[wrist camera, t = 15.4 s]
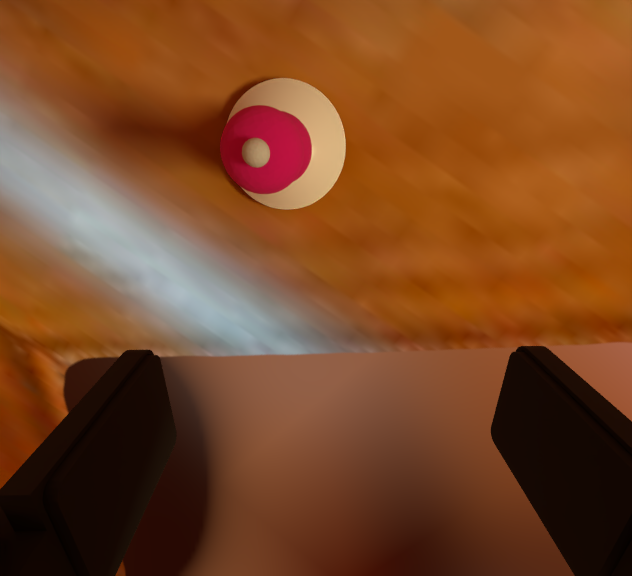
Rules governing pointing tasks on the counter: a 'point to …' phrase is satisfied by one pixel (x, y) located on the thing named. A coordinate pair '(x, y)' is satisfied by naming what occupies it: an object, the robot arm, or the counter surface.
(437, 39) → the counter surface
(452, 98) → the counter surface
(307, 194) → the disc
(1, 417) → the counter surface
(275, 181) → the pepper mill
